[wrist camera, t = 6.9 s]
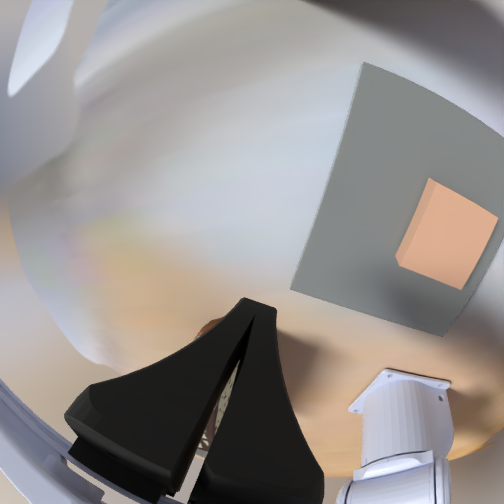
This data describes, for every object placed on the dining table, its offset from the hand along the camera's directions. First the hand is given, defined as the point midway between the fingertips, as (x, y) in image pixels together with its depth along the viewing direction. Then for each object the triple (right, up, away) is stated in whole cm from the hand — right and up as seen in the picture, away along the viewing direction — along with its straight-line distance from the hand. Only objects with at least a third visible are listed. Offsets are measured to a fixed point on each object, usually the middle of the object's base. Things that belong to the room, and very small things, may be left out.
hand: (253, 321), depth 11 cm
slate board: (+11, +5, +6) cm, 14 cm away
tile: (+10, +4, +4) cm, 11 cm away
